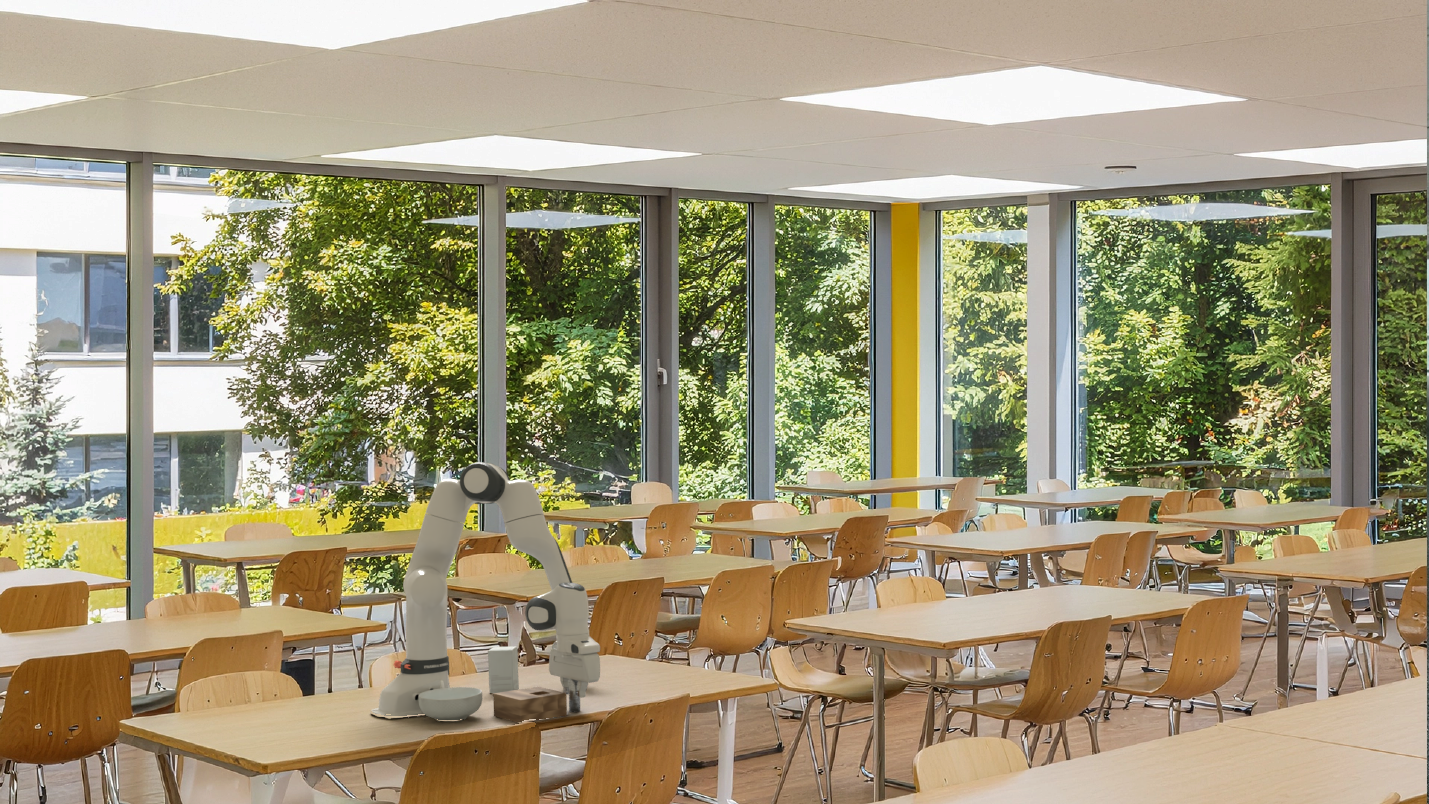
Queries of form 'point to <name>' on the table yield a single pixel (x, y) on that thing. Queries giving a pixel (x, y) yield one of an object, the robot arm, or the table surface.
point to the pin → (573, 696)
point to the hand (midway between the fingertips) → (574, 695)
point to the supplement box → (503, 669)
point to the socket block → (530, 704)
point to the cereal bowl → (450, 702)
